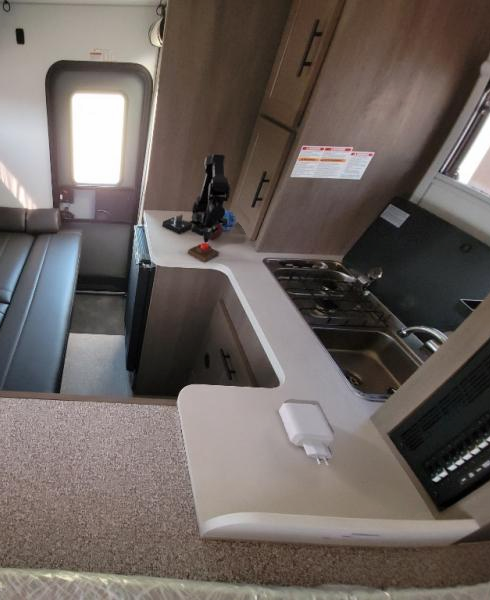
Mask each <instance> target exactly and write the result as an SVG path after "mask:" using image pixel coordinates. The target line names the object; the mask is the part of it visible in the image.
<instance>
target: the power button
mask: <svg viewBox="0 0 490 600" xmlns="http://www.w3.org/2000/svg"><path fill="white" fill-rule="evenodd" d="M200 244H201V247H200V248H201V249H204V250H207V249H208V248H209V246H210V244H209V243H208V242H207V243H205V242H201V243H200Z"/></svg>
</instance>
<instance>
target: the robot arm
mask: <svg viewBox="0 0 490 600" xmlns="http://www.w3.org/2000/svg"><path fill="white" fill-rule="evenodd" d="M226 158H227V156H225V154H221V153H214V154H208V155H206V157H205V158H204V163H203V165H204V171H205V177H204V181H203V184H202V188H201V191H200V194H199V196H198V197H196V199H195V202H193V204H192V206H191V213H192V215H191V220H190V221H189V223H191V224H192V228H191V230H190V232H192V233H194V234H196V235H199V236H202V237H203V243H207V244H208V242H209V241H211V240H210V238H211V237H212V236H213V235H214V234H215V233H216V232H217V231H218V230H219V228H217V226H216V225H218V224H220V223H222V226H226V225H227V222H228V221H227V219H226V218H224V215H225V210H226V209H225V207H224V202H228V201H229V199H230V194H231V186H230V184H229V179H228V177H226V176H225V165H226Z"/></svg>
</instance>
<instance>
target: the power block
mask: <svg viewBox="0 0 490 600" xmlns="http://www.w3.org/2000/svg"><path fill="white" fill-rule="evenodd" d="M201 244H202V243H200V244H198V245H196V246H193V247H192V248H189V249H188V251H187V254H188V255H189V256H192V257H193V258H195V259H197V260H198V261H201V262H203V263H207V262H209V261H210V260H212V259H215V258H217V257H218V256H219V253H220V251H218V250H216V249H214V248H212V246H211V245H209V248H208V249H207V250H204V249H201V248H200V247H201Z"/></svg>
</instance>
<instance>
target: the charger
mask: <svg viewBox="0 0 490 600" xmlns="http://www.w3.org/2000/svg"><path fill="white" fill-rule="evenodd" d="M278 413H279V416H280V418H281V421H282V424H283V426H284V429H285V431H286V434H287V436H288V439H289V441H290V442H291V443H292V444H293V445H294V446H297V447H303V449H304V451H305V454H306V455H307V456H308V457H309V458H312V459H316V462H317V464H318V465H319V466H321V465H322V463H321V461H320V460H323V461H324V462H325V465H326V466H327V467H328V466H330V464H329V462H328V460H327V459H332V458H333V455H332V453H331V452H330V449H329V446H331V444H332V443H333V442H334V440H335V439H336V438H335V435H334V433H333V431H332V429H331V428H330V424H329V423H328V421H327V419H326V417H325V415H324V413H323V411H322V410H321V408H320V406H319V405H317V404H309V403H300V402H299V403H297V402H285V403H282V405H281V406H280V408H279V410H278Z"/></svg>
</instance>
